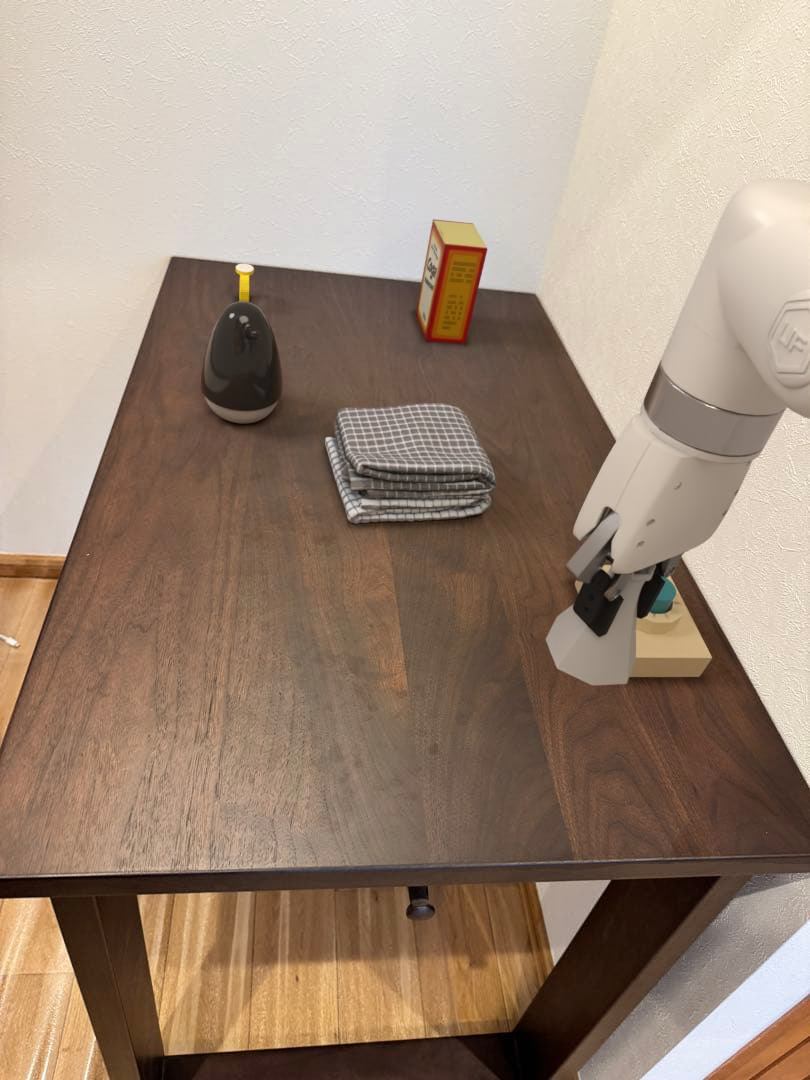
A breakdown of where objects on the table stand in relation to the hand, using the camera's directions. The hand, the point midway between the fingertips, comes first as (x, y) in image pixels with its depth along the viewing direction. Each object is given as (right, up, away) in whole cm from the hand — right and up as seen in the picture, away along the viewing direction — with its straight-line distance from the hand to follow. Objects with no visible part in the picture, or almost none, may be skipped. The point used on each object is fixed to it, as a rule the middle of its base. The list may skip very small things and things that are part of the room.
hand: (609, 612), depth 59 cm
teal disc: (+10, -1, +23) cm, 25 cm away
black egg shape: (-37, +22, +44) cm, 61 cm away
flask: (-1, -4, +3) cm, 5 cm away
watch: (-41, +43, +66) cm, 88 cm away
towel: (-15, +12, +39) cm, 43 cm away
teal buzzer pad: (+10, -4, +26) cm, 28 cm away
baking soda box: (-10, +40, +70) cm, 82 cm away
